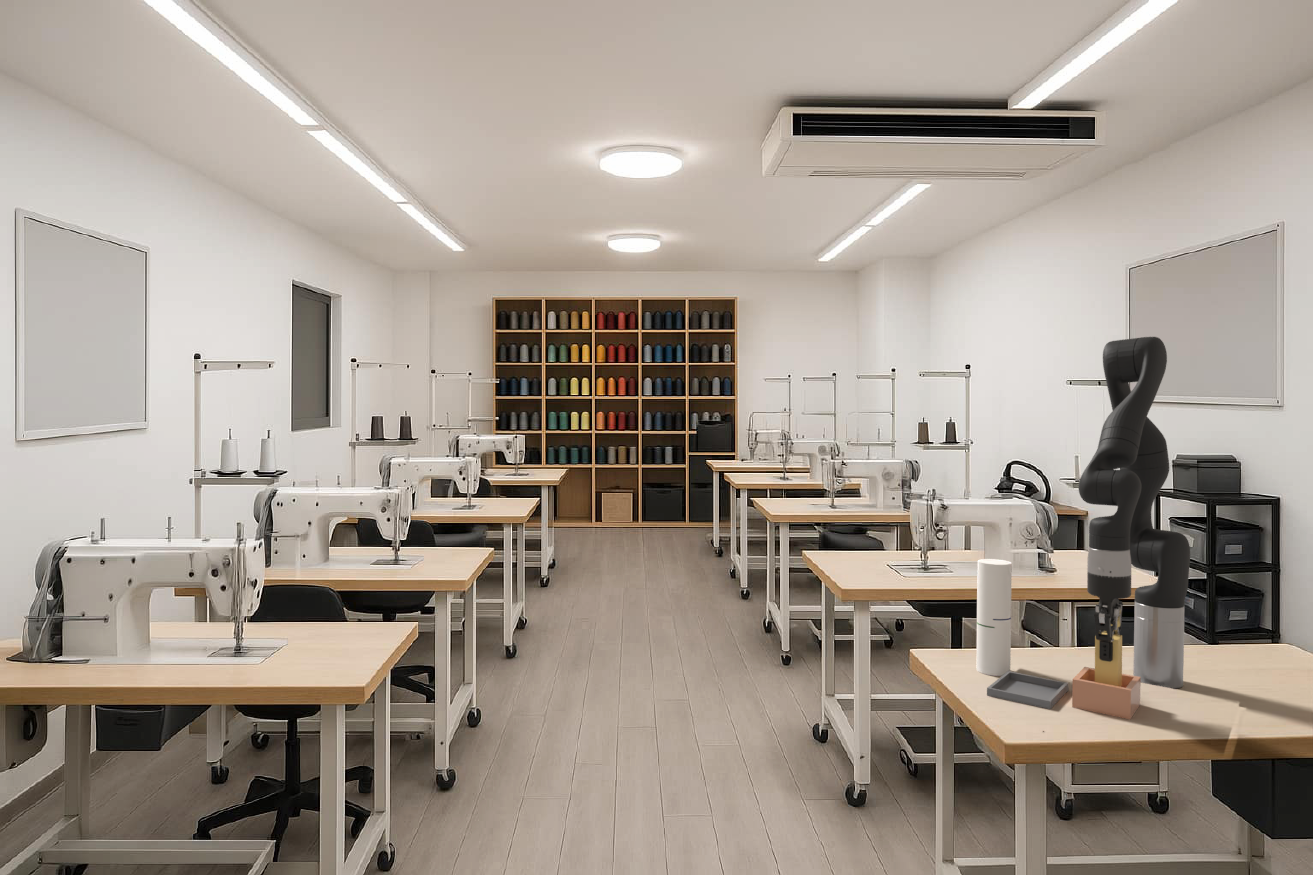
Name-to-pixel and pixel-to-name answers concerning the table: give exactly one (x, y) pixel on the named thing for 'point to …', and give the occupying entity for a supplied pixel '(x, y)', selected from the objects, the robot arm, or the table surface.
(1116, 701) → the terracotta storage bin
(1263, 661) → the table surface
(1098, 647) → the ochre block
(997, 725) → the table surface
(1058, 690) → the grey tray
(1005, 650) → the cylindrical container
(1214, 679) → the table surface
